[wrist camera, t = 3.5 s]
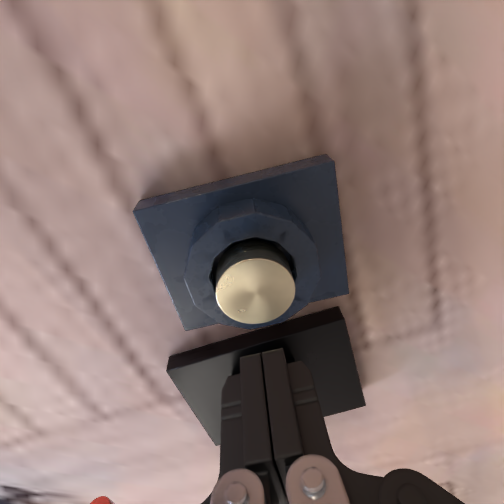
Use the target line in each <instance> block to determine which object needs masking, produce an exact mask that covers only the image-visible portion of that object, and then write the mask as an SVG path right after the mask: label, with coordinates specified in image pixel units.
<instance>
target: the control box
mask: <svg viewBox="0 0 504 504" xmlns="http://www.w3.org/2000/svg"><path fill="white" fill-rule="evenodd" d="M133 214H134V216H135V218H136V220H137V223H138V225H139V227H140V229H141V232H142V234H143V236H144V238H145V241H146V243H147V245H148V247H149V250H150V252H151V254H152V256H153V259H154V261H155V263H156V266H157V268H158V270H159V272H160V275H161V277H162V279H163V281H164V284H165V286H166V288H167V290H168V293H169V295H170V297H171V299H172V302H173V304H174V306H175V308H176V311H177V313H178V315H179V317H180V320H181V322H182V324H183V327H184V329H185V331H188V330H192V329H197V328H201V327H205V326H210V325H214V324H218V323H220V324H223V325H229V326H234V327H239V328H245V329H250V330H251V329H255V328H260V327H264V326H269V325H273V324H278V323H282V322H285V321H286V320H287V319H289V318H290V317H291V316H293V315H294V314H295V313H297V312H298V311H299V310H301V309H302V308H303V307H305V306H306V305H307V304H308V303H310V302H315V301H319V300H324V299H328V298H332V297H337V296H341V295H345V294H349V288H348V279H347V270H346V261H345V252H344V243H343V234H342V225H341V216H340V207H339V198H338V189H337V180H336V171H335V162H334V160H332V159H331V158H330V157H329V156H328V155H327V154H324V155H320V156H316V157H312V158H308V159H304V160H300V161H296V162H292V163H288V164H284V165H280V166H276V167H272V168H268V169H264V170H260V171H256V172H252V173H248V174H244V175H240V176H236V177H232V178H228V179H224V180H220V181H216V182H212V183H208V184H204V185H200V186H196V187H192V188H188V189H184V190H180V191H176V192H172V193H168V194H164V195H160V196H156V197H152V198H148V199H144V200H140V201H139V202H138V204H137V205H136V207H135V208H134V210H133ZM246 241H263V242H267V243H270V244H272V245H274V246H275V247H277V248H278V249H280V250H281V251H282V252H283V254H284V255H285V257H286V258H287V261H288V263H289V267H290V270H291V273H292V276H293V279H294V283H295V296H294V299H293V302H292V303H291V305H290V307H289V308H288V309H287V310H286V311H285V312H284V313H283V314H282V315H281V316H279V317H278V318H276V319H274V320H271V321H269V322H265V323H260V324H247V323H242V322H238V321H236V320H234V319H232V318H230V317H229V316H227V315H226V314H225V313H224V312H223V311H222V310H221V308H220V307H219V305H218V303H217V300H216V272H217V265H218V263H219V260H220V259H221V257H222V256H223V254H224V253H225V252H226V251H227V250H229V249H230V248H231V247H233V246H235V245H237V244H239V243H242V242H246Z"/></svg>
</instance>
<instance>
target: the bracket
mask: <svg viewBox="0 0 504 504" xmlns="http://www.w3.org/2000/svg"><path fill="white" fill-rule="evenodd" d="M280 348H283V351H284V355H285V359H286V363H292V362H297V361H302V362H303V363H304V364H305V365H306V366H307V368H308V369H309V370H310V371H311V374H312V378H313V381H314V385H315V389H316V392H317V396H318V400H319V403H320V407H321V410H322V414H323V417H326V416H329V415H333V414H337V413H341V412H344V411H348V410H352V409H356V408H359V407H363V406H366V404H365V400H364V396H363V392H362V388H361V384H360V380H359V376H358V371H357V367H356V363H355V359H354V355H353V351H352V347H351V343H350V339H349V335H348V331H347V327H346V323H345V319H344V317H343V315H342V313H341V310H340V308H339V307H334V308H331V309H328V310H324V311H321V312H318V313H314V314H311V315H307V316H304V317H301V318H297V319H294V320H291V321H287V322H284V323H281V324H277V325H274V326H270V327H267V328H264V329H260V330H257V331H254V332H250V333H247V334H244V335H240V336H237V337H234V338H230V339H227V340H223V341H220V342H217V343H213V344H210V345H207V346H203V347H200V348H197V349H193V350H190V351H186V352H183V353H180V354H176V355H173V356H170V357H169V360H168V365H167V370H166V371H167V373H168V375H169V376H170V378H171V379H172V381H173V382H174V384H175V385H176V387H177V388H178V390H179V391H180V393H181V394H182V396H183V397H184V399H185V400H186V402H187V403H188V405H189V406H190V408H191V409H192V411H193V412H194V414H195V415H196V417H197V418H198V420H199V421H200V423H201V424H202V426H203V427H204V429H205V430H206V432H207V433H208V435H209V436H210V438H211V439H212V441H213V442H214V444H215V445H216V446H217V445H220V444H221V408H222V406H221V393H222V388H223V386H224V384H225V382H226V379H227V377H228V376H232V375H236V374H240V357H243V356H248V355H253V354H257V353H261V354H262V352H266V351H271V350H275V349H280ZM287 500H288V496H287ZM288 504H289V501H288Z"/></svg>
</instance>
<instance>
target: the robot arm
mask: <svg viewBox="0 0 504 504" xmlns="http://www.w3.org/2000/svg"><path fill="white" fill-rule="evenodd" d="M221 406H222V408H221V444H220V474H219V478H218V481H217V483H216V485H215V487H214V489H213V491H212V493H211V494H210V495H209V497H208V498H207V499H206V500H205V501H204V502H203V503H201V504H288V501H289V504H465V503H463V502H462V501H460V500H459V499H457V498H456V497H455V496H453V495H452V494H450V493H449V492H447V491H446V490H445V489H443V488H442V487H440V486H439V485H437V484H436V483H435V482H433V481H432V480H430V479H429V478H427V477H426V476H424V475H423V474H421V473H419V472H417V471H414V470H411V469H396V470H393V471H391V472H389V473H388V474H387V475H385V477H379V476H373V475H367V474H362V473H358V472H355V471H353V470H351V469H349V468H347V467H346V466H345V465H344V464H342V463H341V462H340V461H339V459H338V458H337V457H336V455H335V453H334V452H333V449H332V446H331V443H330V439H329V436H328V432H327V428H326V425H325V421H324V418H323V414H322V410H321V407H320V403H319V400H318V396H317V392H316V389H315V385H314V381H313V378H312V374H311V371H310V370H309V369H308V368H307V366H306V365H305V364H304V363H303V362H302V361H297V362H292V363H286V359H285V355H284V351H283V348H280V349H275V350H271V351H266V352H262V354H261V353H257V354H253V355H248V356H243V357H240V374H236V375H232V376H228V377H227V379H226V382H225V384H224V386H223V388H222V393H221ZM287 496H288V500H287Z"/></svg>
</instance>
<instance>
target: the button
mask: <svg viewBox="0 0 504 504" xmlns="http://www.w3.org/2000/svg"><path fill="white" fill-rule="evenodd" d="M294 296H295V283H294V279H293V276H292V273H291V270H290V267H289V263H288V261H287V258H286V257H285V255H284V254H283V252H282V251H281V250H280V249H278V248H277V247H275V246H274V245H272V244H270V243H267V242H263V241H246V242H242V243H239V244H237V245H235V246H233V247H231V248H230V249H229V250H227V251H226V252H225V253H224V254H223V256H222V257H221V259H220V260H219V263H218V265H217V272H216V300H217V303H218V305H219V307H220V308H221V310H222V311H223V312H224V313H225V314H226V315H227V316H229V317H230V318H232V319H234V320H236V321H238V322H242V323H247V324H260V323H265V322H269V321H271V320H274V319H276V318H278V317H279V316H281V315H282V314H283V313H284V312H285V311H286V310H287V309H288V308H289V307H290V305H291V303H292V302H293V299H294Z"/></svg>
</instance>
